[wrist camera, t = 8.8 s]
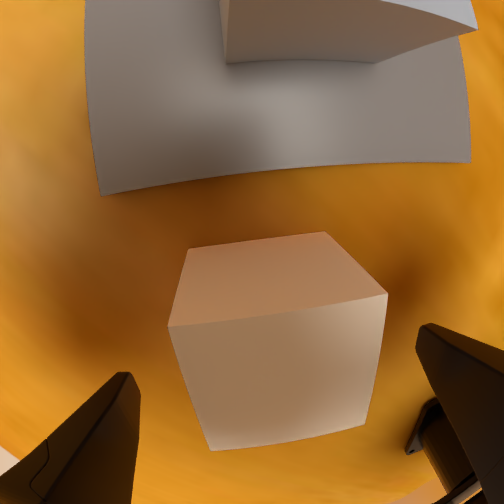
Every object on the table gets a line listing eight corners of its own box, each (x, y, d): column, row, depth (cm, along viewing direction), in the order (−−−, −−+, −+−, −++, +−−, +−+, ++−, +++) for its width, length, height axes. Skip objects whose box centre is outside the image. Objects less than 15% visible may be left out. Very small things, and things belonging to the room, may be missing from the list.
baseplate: (459, 160, 11) (472, 163, 10) (109, 192, 10) (99, 197, 9) (412, -67, 6) (421, -74, 5) (100, -69, 6) (94, -78, 5)
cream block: (324, 339, 13) (364, 424, 8) (211, 356, 13) (210, 450, 8) (324, 230, 11) (388, 293, 7) (188, 248, 11) (167, 327, 6)
